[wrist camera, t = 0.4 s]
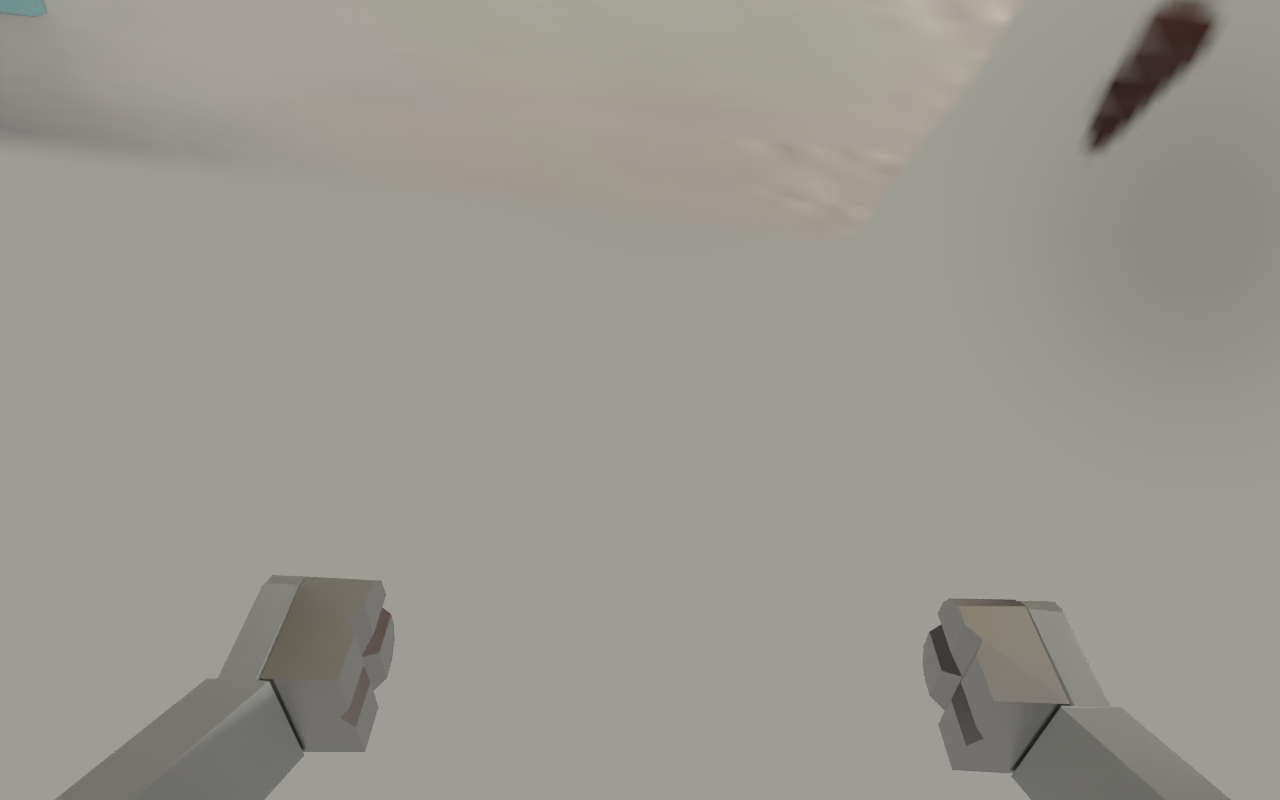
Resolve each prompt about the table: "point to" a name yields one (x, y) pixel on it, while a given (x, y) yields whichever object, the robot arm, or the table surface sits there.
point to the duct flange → (23, 7)
